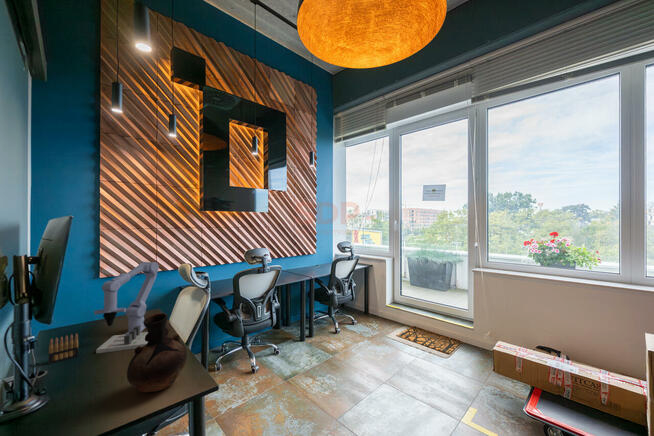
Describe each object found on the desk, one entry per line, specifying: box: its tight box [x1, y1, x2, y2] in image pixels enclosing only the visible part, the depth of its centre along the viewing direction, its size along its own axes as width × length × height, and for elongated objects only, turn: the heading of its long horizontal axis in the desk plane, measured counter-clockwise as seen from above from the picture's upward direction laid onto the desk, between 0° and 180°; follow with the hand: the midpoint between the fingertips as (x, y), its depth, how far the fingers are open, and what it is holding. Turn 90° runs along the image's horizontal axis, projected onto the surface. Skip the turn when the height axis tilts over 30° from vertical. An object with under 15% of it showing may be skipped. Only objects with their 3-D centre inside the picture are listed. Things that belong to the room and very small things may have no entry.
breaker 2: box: [134, 326, 140, 335], centre depth 154 cm, size 3×2×4 cm
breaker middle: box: [129, 330, 136, 339], centre depth 149 cm, size 3×2×4 cm
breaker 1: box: [124, 333, 132, 344], centre depth 143 cm, size 3×2×4 cm
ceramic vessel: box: [126, 312, 188, 393], centre depth 108 cm, size 21×18×30 cm
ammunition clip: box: [47, 333, 79, 365], centre depth 130 cm, size 11×2×12 cm, turn 135°
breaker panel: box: [95, 331, 148, 354], centre depth 148 cm, size 18×22×2 cm
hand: (110, 325), depth 150 cm, fingers closed
